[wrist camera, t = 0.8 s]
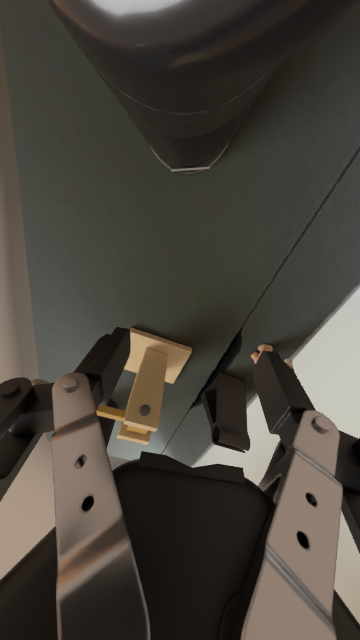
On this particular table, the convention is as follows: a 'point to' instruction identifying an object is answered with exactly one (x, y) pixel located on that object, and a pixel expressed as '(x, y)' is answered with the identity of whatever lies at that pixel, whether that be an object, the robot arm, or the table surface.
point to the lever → (105, 411)
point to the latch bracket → (150, 381)
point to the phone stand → (227, 412)
